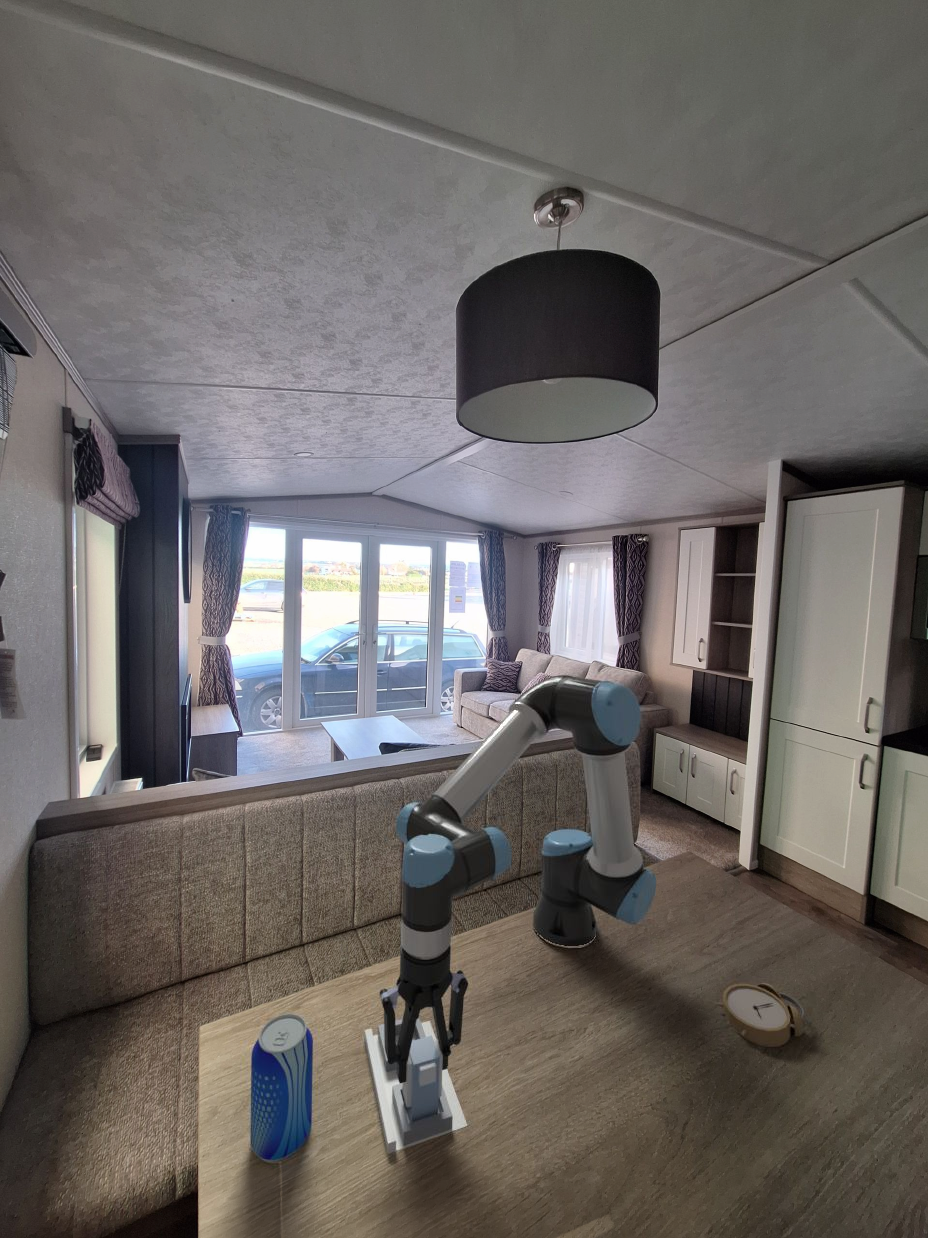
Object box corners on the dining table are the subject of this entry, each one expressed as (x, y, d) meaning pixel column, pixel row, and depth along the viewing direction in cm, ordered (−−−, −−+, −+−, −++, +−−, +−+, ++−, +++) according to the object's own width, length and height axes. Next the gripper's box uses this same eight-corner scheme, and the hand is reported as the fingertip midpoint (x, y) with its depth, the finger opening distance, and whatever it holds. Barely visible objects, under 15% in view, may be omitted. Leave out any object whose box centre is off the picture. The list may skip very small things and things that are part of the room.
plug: (430, 1097, 81) (431, 1035, 80) (439, 1127, 76) (441, 1062, 76) (405, 1105, 79) (406, 1042, 79) (413, 1136, 75) (415, 1070, 74)
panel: (429, 1026, 95) (429, 1010, 95) (467, 1132, 76) (467, 1113, 76) (364, 1043, 91) (364, 1027, 91) (387, 1160, 72) (388, 1140, 72)
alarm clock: (708, 989, 103) (774, 969, 105) (711, 1012, 103) (777, 992, 105) (749, 1037, 92) (821, 1013, 94) (752, 1062, 92) (824, 1038, 94)
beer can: (239, 1140, 74) (240, 1033, 74) (291, 1098, 81) (293, 999, 80) (269, 1184, 69) (270, 1069, 68) (322, 1135, 75) (324, 1030, 75)
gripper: (469, 918, 83) (465, 1057, 84) (364, 939, 78) (361, 1088, 79) (487, 948, 76) (483, 1099, 77) (373, 974, 71) (370, 1137, 71)
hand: (421, 1093), depth 78 cm, fingers closed on plug, 4 cm apart
